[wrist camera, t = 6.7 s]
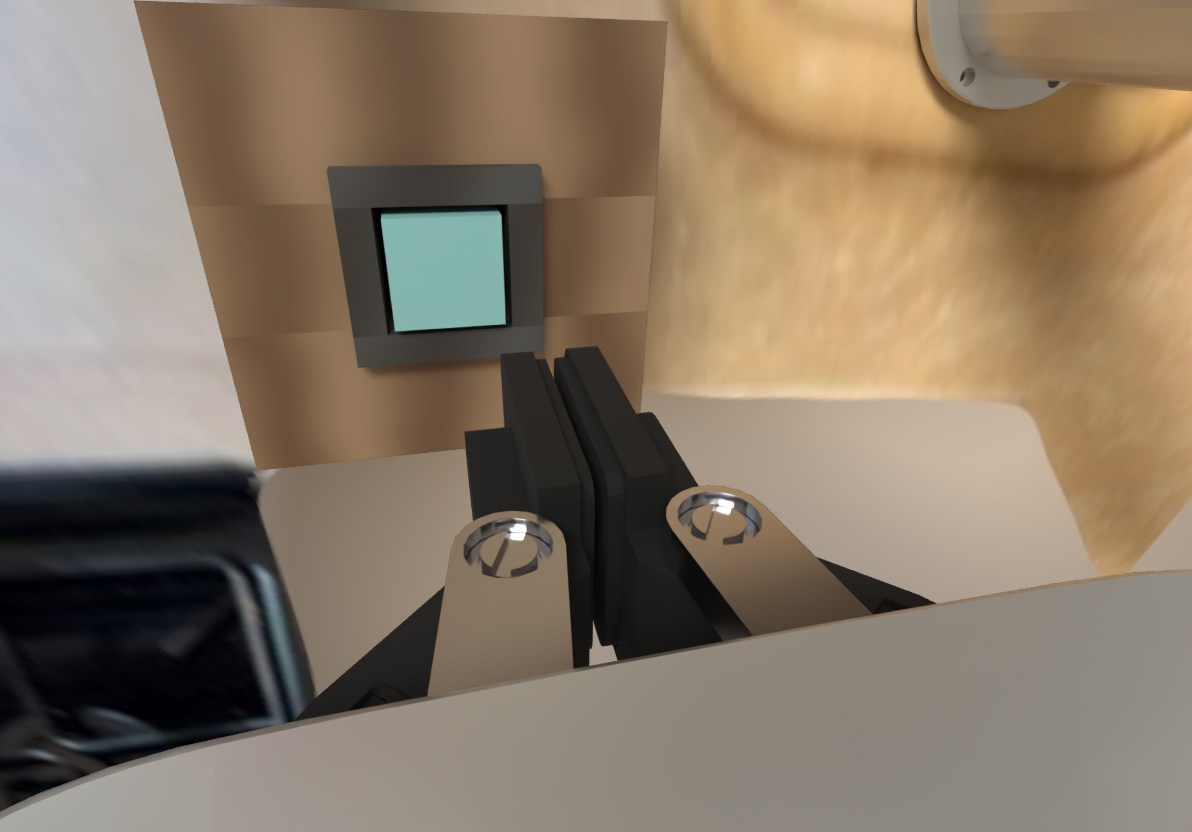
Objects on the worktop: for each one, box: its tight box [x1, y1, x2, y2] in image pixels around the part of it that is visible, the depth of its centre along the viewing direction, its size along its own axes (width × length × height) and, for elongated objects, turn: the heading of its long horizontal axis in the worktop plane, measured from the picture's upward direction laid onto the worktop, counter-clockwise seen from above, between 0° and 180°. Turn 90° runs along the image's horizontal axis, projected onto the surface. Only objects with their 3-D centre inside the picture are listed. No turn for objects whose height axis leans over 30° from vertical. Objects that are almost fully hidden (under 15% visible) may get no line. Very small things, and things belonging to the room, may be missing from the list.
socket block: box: [134, 1, 668, 471], centre depth 28 cm, size 16×16×10 cm
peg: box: [381, 205, 506, 331], centre depth 28 cm, size 4×4×10 cm
